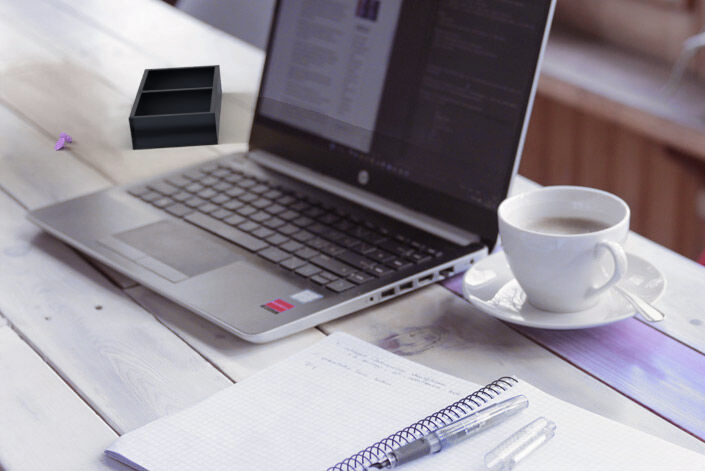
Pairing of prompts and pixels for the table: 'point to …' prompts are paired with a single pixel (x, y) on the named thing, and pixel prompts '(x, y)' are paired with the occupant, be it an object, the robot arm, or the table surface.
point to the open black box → (177, 107)
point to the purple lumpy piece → (62, 140)
